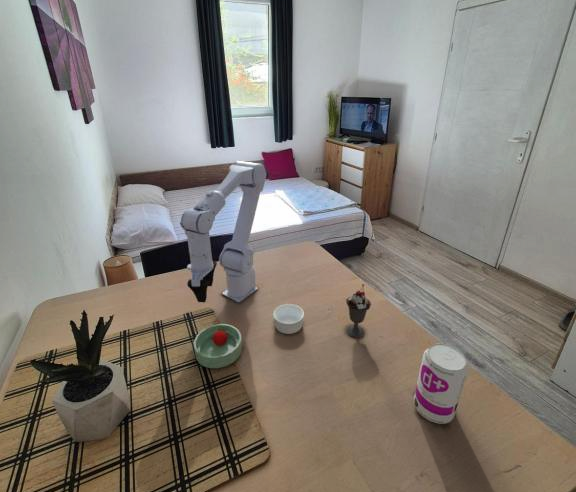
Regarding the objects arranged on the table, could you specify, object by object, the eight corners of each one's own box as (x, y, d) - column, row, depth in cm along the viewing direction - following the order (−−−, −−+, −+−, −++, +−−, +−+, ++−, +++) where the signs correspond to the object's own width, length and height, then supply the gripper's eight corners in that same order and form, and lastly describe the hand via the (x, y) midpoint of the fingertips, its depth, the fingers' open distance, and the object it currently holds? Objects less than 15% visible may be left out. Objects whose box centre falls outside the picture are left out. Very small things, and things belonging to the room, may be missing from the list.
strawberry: (218, 349, 87) (221, 335, 90) (228, 346, 86) (231, 331, 89) (208, 343, 85) (211, 328, 88) (219, 339, 84) (222, 325, 87)
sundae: (365, 324, 95) (370, 281, 89) (368, 340, 89) (374, 295, 83) (342, 322, 96) (346, 279, 90) (344, 339, 90) (348, 294, 84)
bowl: (220, 329, 93) (218, 318, 92) (251, 347, 87) (250, 335, 85) (185, 355, 84) (184, 343, 83) (218, 377, 78) (216, 365, 76)
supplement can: (435, 433, 66) (450, 379, 60) (405, 400, 72) (415, 349, 66) (462, 415, 69) (478, 363, 63) (430, 386, 76) (442, 336, 70)
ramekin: (268, 330, 93) (268, 318, 91) (280, 312, 100) (280, 300, 99) (297, 339, 90) (297, 327, 88) (307, 319, 97) (308, 307, 95)
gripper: (193, 239, 95) (198, 279, 100) (177, 265, 81) (183, 309, 87) (217, 239, 95) (221, 279, 100) (204, 265, 81) (210, 309, 87)
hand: (205, 293), depth 94 cm, fingers open, 7 cm apart
